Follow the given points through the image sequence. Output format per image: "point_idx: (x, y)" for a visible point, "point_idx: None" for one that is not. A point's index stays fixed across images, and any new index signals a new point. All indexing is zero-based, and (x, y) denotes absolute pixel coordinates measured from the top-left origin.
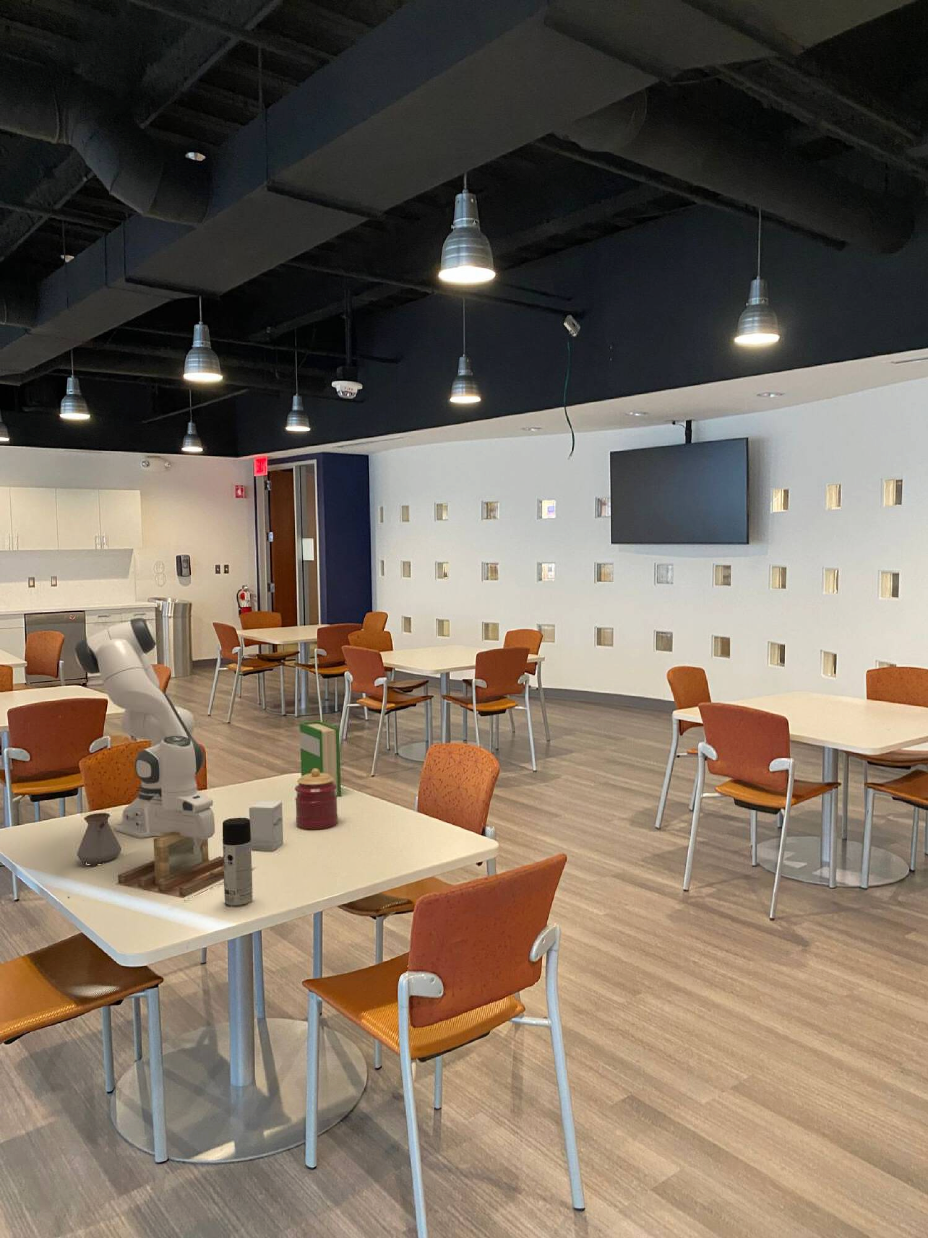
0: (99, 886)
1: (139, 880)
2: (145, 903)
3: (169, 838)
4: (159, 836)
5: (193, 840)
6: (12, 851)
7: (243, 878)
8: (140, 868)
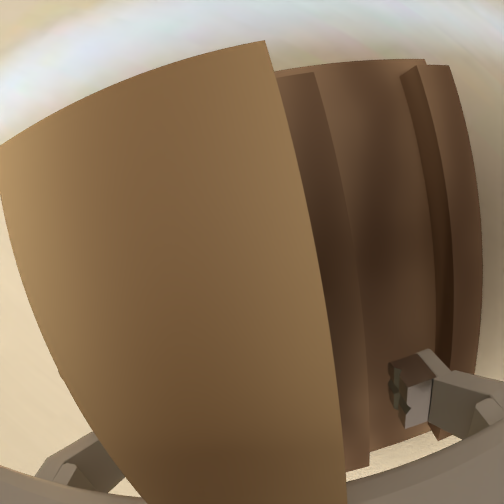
0: (469, 54)
1: (300, 76)
2: (131, 45)
3: (68, 348)
4: (270, 246)
5: (70, 473)
6: None
7: None
8: (454, 190)
